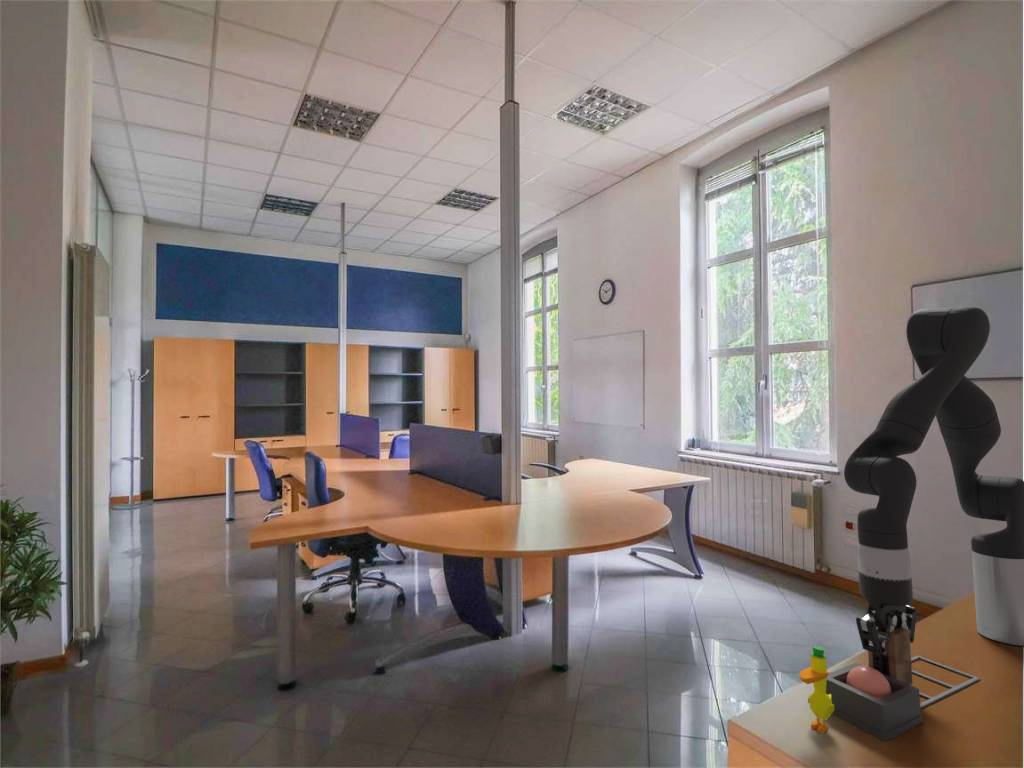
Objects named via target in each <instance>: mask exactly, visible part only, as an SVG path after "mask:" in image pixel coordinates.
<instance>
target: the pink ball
mask: <svg viewBox="0 0 1024 768" xmlns="http://www.w3.org/2000/svg"><path fill="white" fill-rule="evenodd" d="M846 684H847V685H849V686H851V687H853V688H855V689H857V690H860V691H862V692H864V693H866V694H868V695H870V696H873V697H875V698H877V699H881V698H883V697H885V696H887V695H890V694H892V691H891V687H890V684H889V682H888V681H887V679H886V678H885V677H884V676H883V675H882V674H881V673H880V672H879V671H877V670H876V669H874V668H871V667H869V665H863V666H858V667H855V668H853V669H852V670H851V671H850V672H849V673H848V675H847V679H846Z"/></svg>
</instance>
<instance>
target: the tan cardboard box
mask: <svg viewBox="0 0 1024 768" xmlns="http://www.w3.org/2000/svg"><path fill="white" fill-rule="evenodd" d="M877 633H878V634H880V635H883V636H885V635H886V632H881V631H878V630H877ZM868 641H869V640H868ZM879 641H880V645H881V647H882V640H880V639H879ZM869 643H870V641H869ZM888 648H889V652H888V658H889V675H890V677H892V678H894V679H897V680H899V681H902V682H904V683H906V684H909V685H911V686H912V685H913V684H914V683H913V673H912V670H913V666H912V662H911V658H912V654H911V653H912V652H911V650H912V649H911V643H910V633H909V629H908V628H907V629H900V628H898V629H896V630H894V633H892V634H891V642H889V643H888ZM867 653H868V654H867V655H868V667H871V668H873V655H872V652H870V651H867Z"/></svg>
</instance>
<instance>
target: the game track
mask: <svg viewBox="0 0 1024 768" xmlns="http://www.w3.org/2000/svg"><path fill="white" fill-rule="evenodd" d="M918 660H920V661H924V662H927V663H929V662H930V664H932V663H933V664H932V665H934V664H936V665H935V666H937V665H938V666H937V667H940V666H941V667H940V668H942V667H944V668H943V669H945V668H946V669H945V670H948V671H950V672H954V673H956V674H958V675H962V676H964V677H966V678H969V679H967V680H966V681H964V682H962V683H959V684H957V685H955V686H954V685H952V684H949V683H946V682H943V681H941V680H939V679H937V678H933V677H931V676H928V675H926V674H923V673H920V672H918V671H916V670H913V669H912V675H916V676H918V677H921V678H924V679H926V680H928V681H930V682H934V683H936V684H939V685H940V686H941V685H942V686H943V687H947V688H948V689H947V690H945V691H943V692H941V693H939V694H937V695H935V696H931V695H928V694H925V693H923V692H921V691H919V696H920V697H922V698H924V699H926V700H924V701H921V702H920V710H922V709H923V708H925V707H928V706H929V705H931V704H934V703H936V702H938V701H940V700H942V699H944V698H945V697H948V696H950V695H952V694H954V693H956V692H958V691H961V690H962V689H964V688H966V687H968V686H971V685H973V684H975V683H976V682H979V681H980V680H981V678H980V677H977V676H975V675H972V674H969V673H966V672H965V671H961V670H958V669H956V668H953V667H951V666H948V665H945V664H942V663H940V662H936V661H934V660H932V659H929V658H925V657H923V656H920V655H914V656H911V663H913V662H915V661H918Z"/></svg>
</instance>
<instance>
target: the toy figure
mask: <svg viewBox="0 0 1024 768" xmlns="http://www.w3.org/2000/svg"><path fill="white" fill-rule="evenodd" d="M827 666H828V665H827V656H826V654H825V648H823V647H821V646H818V645H816V646H812V651H811V652H810V666H809V667H806V668H804V669H803V670H801V671H800V672H799V675H798V677H799V679H800V680H801V681H802V683H804V684H806V685H810V684H813V688H814V689H813V690H814V691H812V692H811V693H810V694H809V695H808V696H809V697H808V700H807V704H809V709H810V710H811V712H812V714H813V715H814V716H815V717H816V720H812V722H811V725H810V727H811V729H813V730H817V732H818V733H819V734H820V733H821V734H823V733H826V732H827V731H828V730H829V727H828V726H827V722H826V720H828V719H829V718H830V716H831V715H833V714H832V713H833V712H834V704H832V700H831V694H829V695H827V694H826V682H827V676H828V674H829V673H830V671H828V667H827ZM820 720H821V721H822V722H821V721H820Z"/></svg>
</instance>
